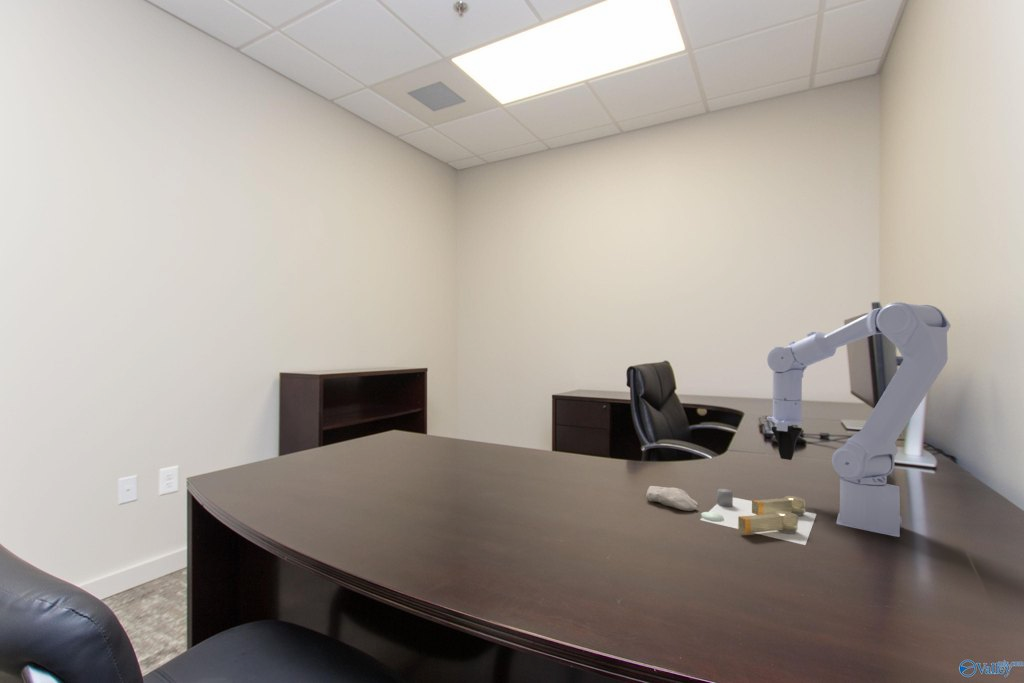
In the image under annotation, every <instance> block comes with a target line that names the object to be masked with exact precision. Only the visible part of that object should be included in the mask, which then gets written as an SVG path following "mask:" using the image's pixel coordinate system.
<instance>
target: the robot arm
mask: <svg viewBox="0 0 1024 683" xmlns="http://www.w3.org/2000/svg"><path fill="white" fill-rule="evenodd" d="M950 328H951V324H950V322H949V320H948V319H947V317H946V315H945V313H944V312H943V311H942V310H941V309H939V308H938V307H936V306H933V305H929V304H910V303H906V302H902V301H897V302H890V303H887V304H885V305H884V306H883V307H878V308H874V309H873V310H871V311H869V313H867V314H864V315H863V316H861V317H859V318H857V319H855V320H853V321H850V322H849V323H847V324H845V325H843V326H841V327H839V328H836V329H835V330H833V331H831V332H828V333H825V332H821V331H818V332H816V331H810V332H809V333H807V334H806V335H807V337H804V338H802V339H800V340H797V341H791V342H789V343H788V345H787V346H786V347H784V346H775V347H774V348H773V349H772V350H770V351H769V353H768V355H767V358H766V359H767V365H768V366H769V368H770V370H772V416H766V421H771V422H773V423H775V424H776V426H771V431H772V434H773V436H774V437H775V440H776V444H777V447H778V453H779V456H780V457H779V458H780V459H782V460H786V461H787V460H788V461H792V460H793V457H794V454H795V449H796V444H797V441H798V438H799V436H800V434H801V432H802V431H803V428H802V427H795V426H796V425H803V419H802V414H803V413H802V412H803V411H802V409H803V408H802V407H803V406H802V403H803V401H802V398H803V397H802V396H803V395H802V394H803V392H802V389H803V386H802V385H803V378H804V372H805V370H807V368H808V367H809V366H811V365H814V364H816V363H818V362H821V361H824V360H827V359H828V358H831V357H833V356H834V355H835V354H836V352H837V349H838V348H840V347H844V346H846V345H849V344H851V343H855V342H857V341H860V340H863V339H866V338H868V337H871V336H874V335H881V334H882V335H883V336H884V337H885V338H887V339H888V340H889V341H890V343H892V344H893V346H895V347H896V348H897V350H898V352H899V353H900V355H901V357H902V361H901V363H900V365H899V367H897V370H896V372H895V373H894V375H893V377H892V378H891V380H890V382H888V385H887V387H886V388H885V390H884V391H883V393H882V395H881V396H880V398H879V400H878V401H877V403H876V405H875V406H874V408H873V409H872V412H871V413H870V415H869V416H868V418H867V420H866V422H865V423H864V425H863V426H862V428H861V429H860V430H859V431H858V432H857V433H855V434H853V435H852V436H850V437H849V438H848V439H847V440H846V442H845V444H844V445H842V446H841V447H838V448H836V450H834V452H833V454H832V455H831V463H832V467H833V469H834V470H835V472H836V473H837V475H838V478H839V512H838V513H837V518H836V523H835V524H836V525H839V526H844V527H847V528H853V529H859V530H863V531H868V532H872V533H877V534H882V535H888V536H892V537H898V538H899V537H901V535H900V534H901V533H900V530H901V528H900V527H902V522H903V520H902V518H903V517H902V516H901V504H900V503H901V501H900V500H901V496H900V495H901V491H900V490H901V489H900V486H898V485H894V484H890V483H887V481H888V480H887V478H888V476H889V475H890V474H892V472H893V471H894V469H895V459H896V455H897V454H898V452H899V448H898V447H897V445H896V442H897V440H898V439H899V437H900V436H901V434H902V432H903V431H904V429H905V428H906V427H907V425H908V424H909V421H910V420H911V418H912V417H913V415H914V414H915V412H917V409H918V408H919V406H920V405H921V403H922V402H923V400H924V398H925V397H926V396H927V394H928V392H929V391H930V389H931V388H932V386H933V385H934V383H935V381H936V380H937V379H938V377H939V375H940V374H941V372H942V371H943V369H944V367H945V366H946V365H947V363H948V357H949V356H948V332H949V330H950Z"/></svg>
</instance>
